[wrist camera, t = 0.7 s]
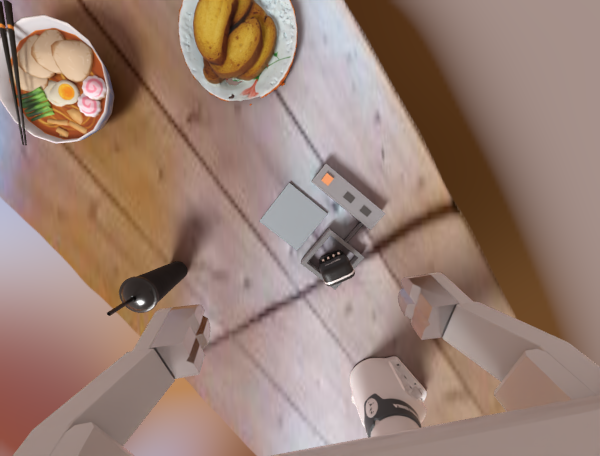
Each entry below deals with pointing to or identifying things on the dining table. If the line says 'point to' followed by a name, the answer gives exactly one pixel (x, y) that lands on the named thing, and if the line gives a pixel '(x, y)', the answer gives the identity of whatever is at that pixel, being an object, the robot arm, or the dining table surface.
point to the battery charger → (335, 268)
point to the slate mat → (293, 216)
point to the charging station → (351, 203)
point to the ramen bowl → (52, 79)
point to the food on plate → (238, 44)
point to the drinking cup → (149, 287)
